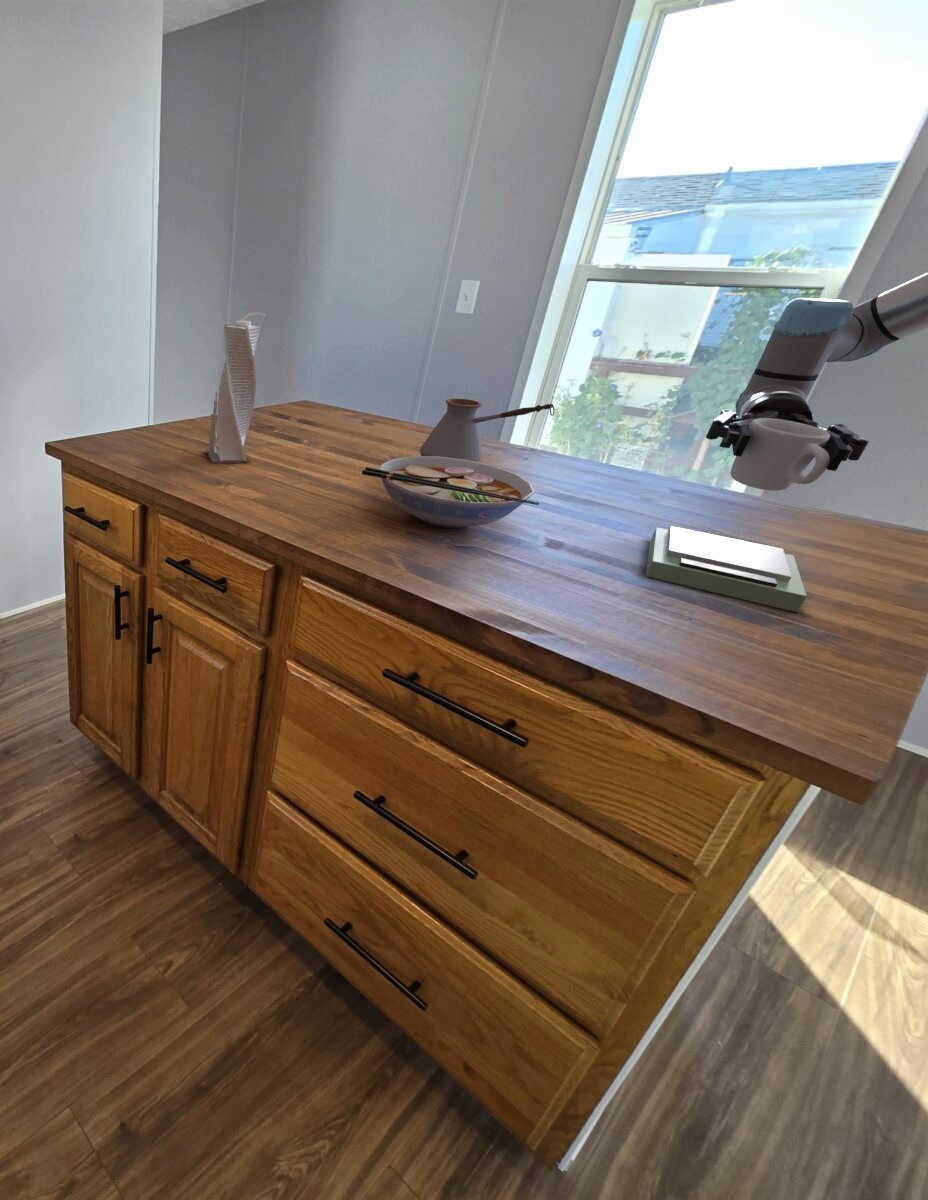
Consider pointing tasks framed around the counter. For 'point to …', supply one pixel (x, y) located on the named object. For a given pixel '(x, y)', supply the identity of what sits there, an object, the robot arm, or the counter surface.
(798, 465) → the cup
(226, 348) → the skyscraper
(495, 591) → the counter surface
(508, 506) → the ramen bowl
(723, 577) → the scale
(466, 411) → the coffee pot
